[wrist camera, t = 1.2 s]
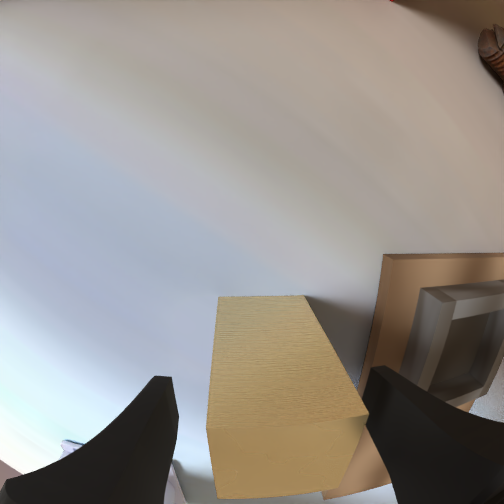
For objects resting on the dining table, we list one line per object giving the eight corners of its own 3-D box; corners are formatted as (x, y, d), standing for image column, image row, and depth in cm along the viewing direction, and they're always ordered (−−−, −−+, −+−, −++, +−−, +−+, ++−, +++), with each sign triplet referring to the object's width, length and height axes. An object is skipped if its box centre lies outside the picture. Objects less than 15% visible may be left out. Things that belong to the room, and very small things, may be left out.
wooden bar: (221, 366, 15) (217, 498, 7) (218, 296, 14) (206, 427, 6) (296, 363, 15) (337, 487, 7) (303, 295, 14) (369, 413, 6)
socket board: (321, 491, 19) (328, 516, 16) (383, 254, 14) (415, 273, 11) (429, 460, 20) (441, 479, 17) (514, 252, 14) (543, 264, 11)
